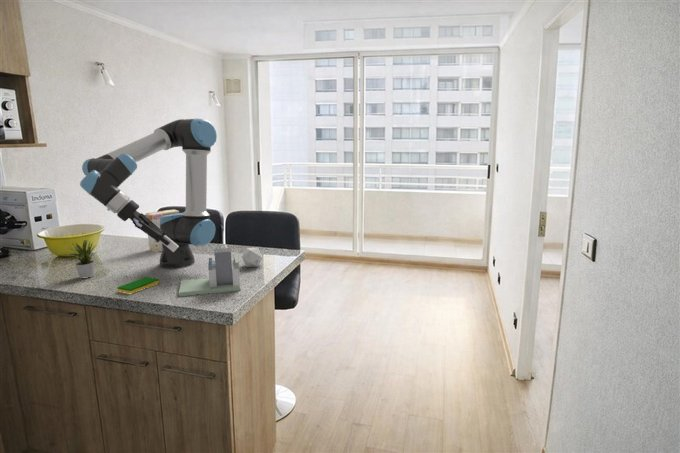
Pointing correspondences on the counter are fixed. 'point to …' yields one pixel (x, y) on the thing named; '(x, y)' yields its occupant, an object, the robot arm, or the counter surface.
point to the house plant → (83, 259)
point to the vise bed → (204, 285)
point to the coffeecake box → (155, 219)
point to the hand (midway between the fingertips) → (176, 249)
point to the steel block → (223, 266)
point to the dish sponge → (138, 285)
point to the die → (252, 257)
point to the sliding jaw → (212, 273)
